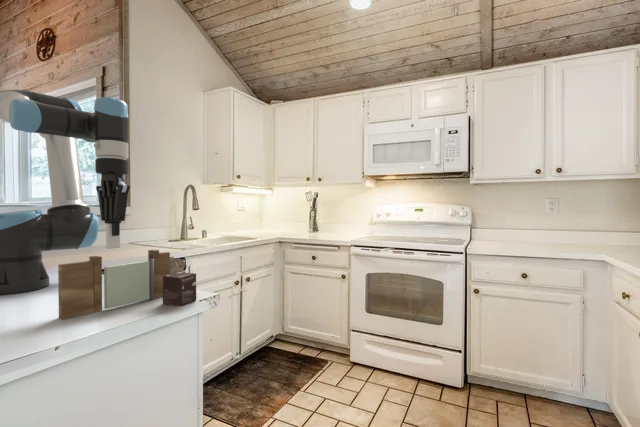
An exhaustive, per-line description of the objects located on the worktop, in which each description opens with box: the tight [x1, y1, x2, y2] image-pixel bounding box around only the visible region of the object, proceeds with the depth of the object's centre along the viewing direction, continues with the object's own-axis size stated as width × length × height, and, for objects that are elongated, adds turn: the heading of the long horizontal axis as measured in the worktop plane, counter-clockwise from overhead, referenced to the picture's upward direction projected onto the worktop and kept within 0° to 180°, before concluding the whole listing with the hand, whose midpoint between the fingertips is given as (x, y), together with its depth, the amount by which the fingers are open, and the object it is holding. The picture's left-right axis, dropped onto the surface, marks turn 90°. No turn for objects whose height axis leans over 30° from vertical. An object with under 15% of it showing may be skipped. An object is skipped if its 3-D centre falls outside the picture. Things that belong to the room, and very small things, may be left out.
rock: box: [170, 256, 186, 274], centre depth 115 cm, size 12×7×10 cm, turn 126°
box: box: [162, 271, 197, 307], centre depth 90 cm, size 6×6×7 cm
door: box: [103, 259, 155, 310], centre depth 88 cm, size 12×1×11 cm, turn 147°
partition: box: [57, 249, 171, 320], centre depth 87 cm, size 3×26×13 cm, turn 147°
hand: (113, 248), depth 91 cm, fingers closed
